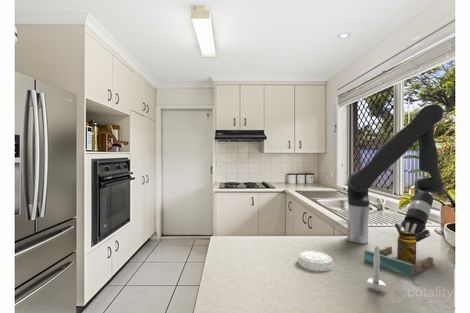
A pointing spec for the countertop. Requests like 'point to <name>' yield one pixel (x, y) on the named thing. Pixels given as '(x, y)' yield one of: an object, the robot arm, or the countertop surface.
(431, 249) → the countertop surface
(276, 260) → the countertop surface
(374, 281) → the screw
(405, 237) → the condiment
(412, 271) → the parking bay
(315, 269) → the mooncake
